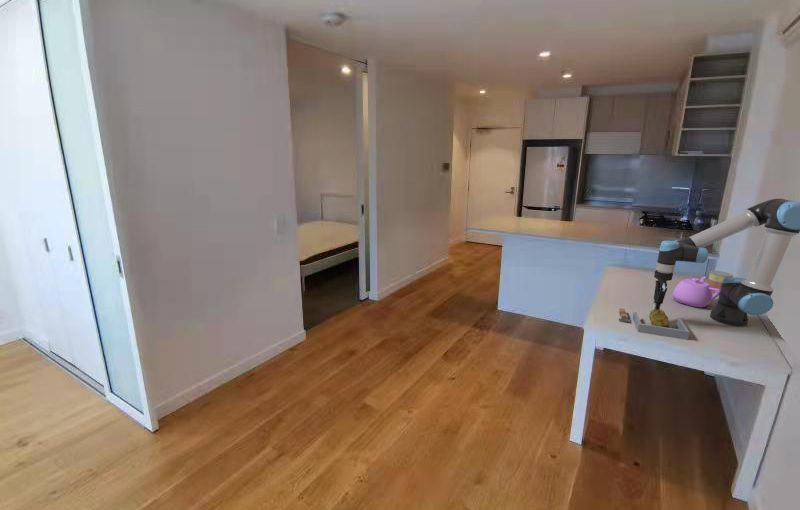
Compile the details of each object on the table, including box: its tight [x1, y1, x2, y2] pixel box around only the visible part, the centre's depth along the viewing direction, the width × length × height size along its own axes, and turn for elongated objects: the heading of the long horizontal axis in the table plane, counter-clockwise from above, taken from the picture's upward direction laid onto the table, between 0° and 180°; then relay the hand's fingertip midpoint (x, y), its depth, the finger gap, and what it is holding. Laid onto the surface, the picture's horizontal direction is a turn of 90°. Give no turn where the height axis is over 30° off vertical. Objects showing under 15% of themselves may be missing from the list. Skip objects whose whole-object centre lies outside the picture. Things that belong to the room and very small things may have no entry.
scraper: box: [618, 307, 631, 324], centre depth 199 cm, size 14×5×2 cm, turn 157°
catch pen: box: [632, 311, 691, 341], centre depth 186 cm, size 20×16×4 cm
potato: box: [648, 308, 670, 328], centre depth 188 cm, size 8×13×8 cm, turn 147°
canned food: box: [706, 270, 734, 294], centre depth 237 cm, size 11×11×12 cm
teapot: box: [672, 275, 720, 308], centre depth 218 cm, size 23×21×15 cm
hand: (655, 314), depth 195 cm, fingers closed
